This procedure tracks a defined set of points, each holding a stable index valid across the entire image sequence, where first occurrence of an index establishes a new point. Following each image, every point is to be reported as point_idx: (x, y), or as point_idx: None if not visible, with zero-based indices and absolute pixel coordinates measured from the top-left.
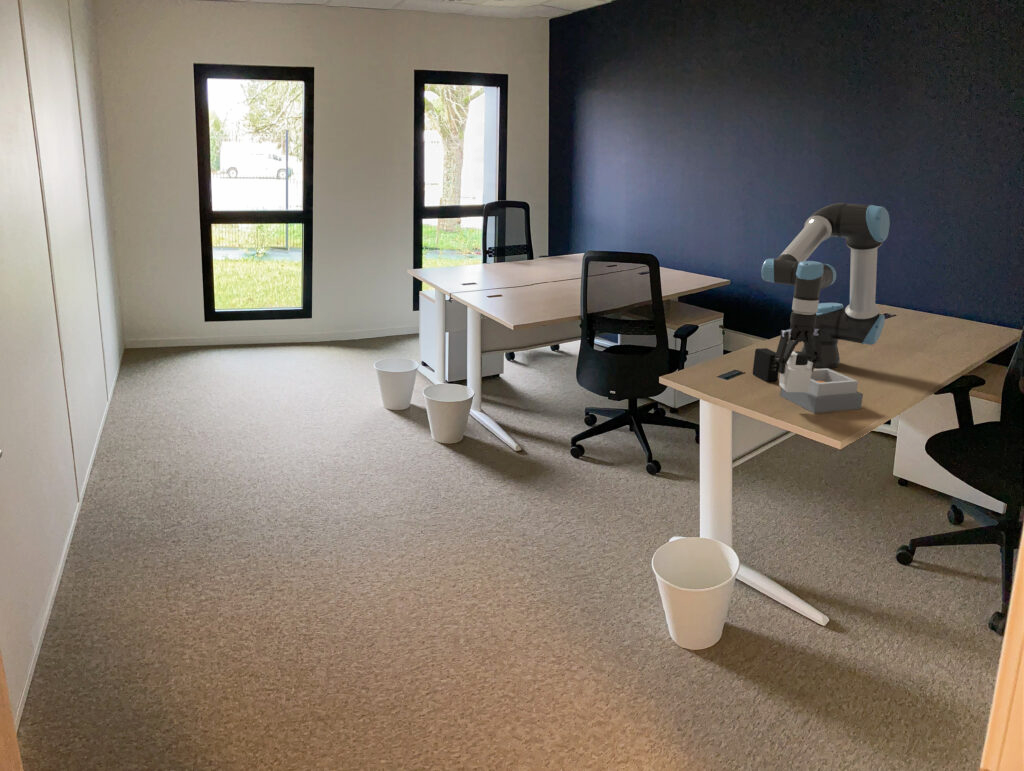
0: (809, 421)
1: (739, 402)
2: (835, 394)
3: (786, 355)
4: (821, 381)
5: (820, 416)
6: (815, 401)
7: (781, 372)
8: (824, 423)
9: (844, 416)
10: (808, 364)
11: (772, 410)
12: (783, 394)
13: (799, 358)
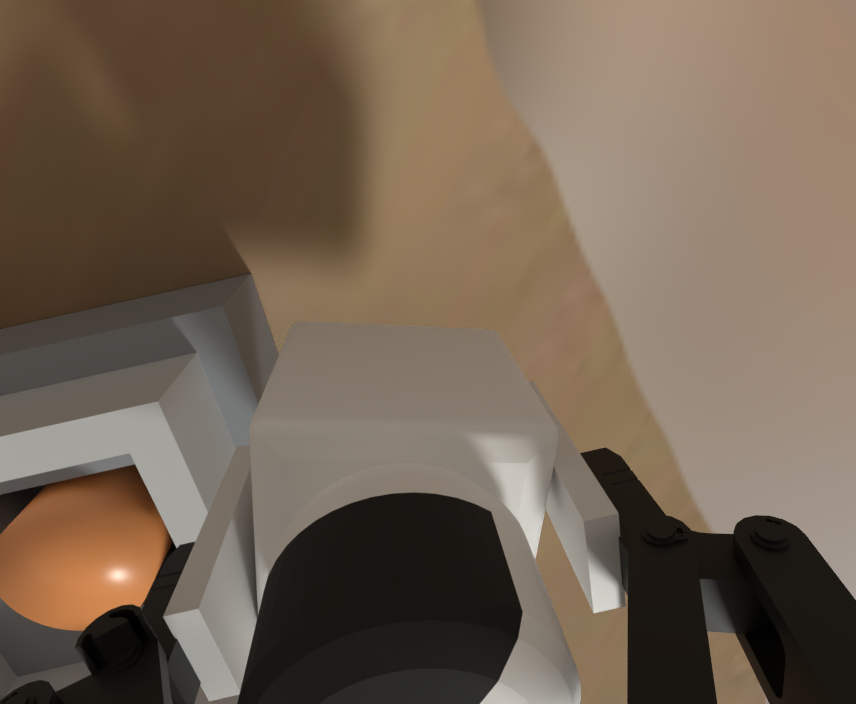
0: (356, 92)
1: (643, 462)
2: (11, 394)
3: (705, 642)
4: (62, 619)
5: (226, 203)
6: (231, 299)
7: (615, 456)
8: (252, 36)
9: (30, 198)
10: (226, 611)
11: (517, 329)
12: None
13: (467, 579)
